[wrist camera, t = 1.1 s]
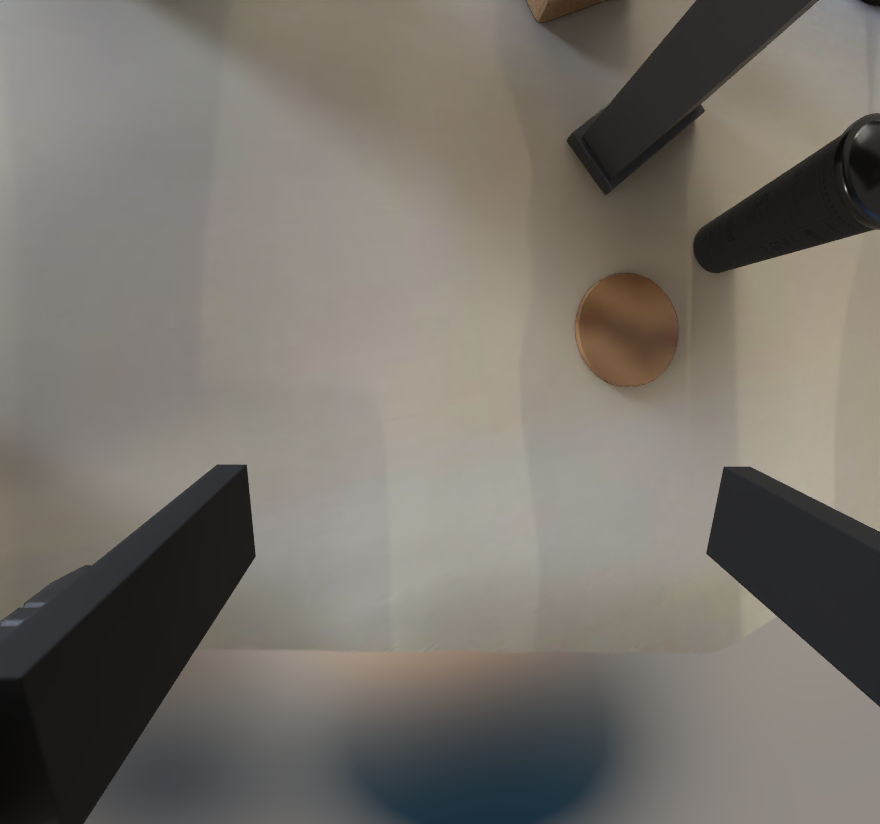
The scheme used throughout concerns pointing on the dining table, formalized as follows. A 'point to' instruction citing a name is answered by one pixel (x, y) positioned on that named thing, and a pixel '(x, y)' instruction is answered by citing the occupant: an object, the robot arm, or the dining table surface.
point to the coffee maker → (678, 82)
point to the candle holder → (557, 7)
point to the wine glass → (873, 2)
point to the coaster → (626, 330)
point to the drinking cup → (802, 204)
